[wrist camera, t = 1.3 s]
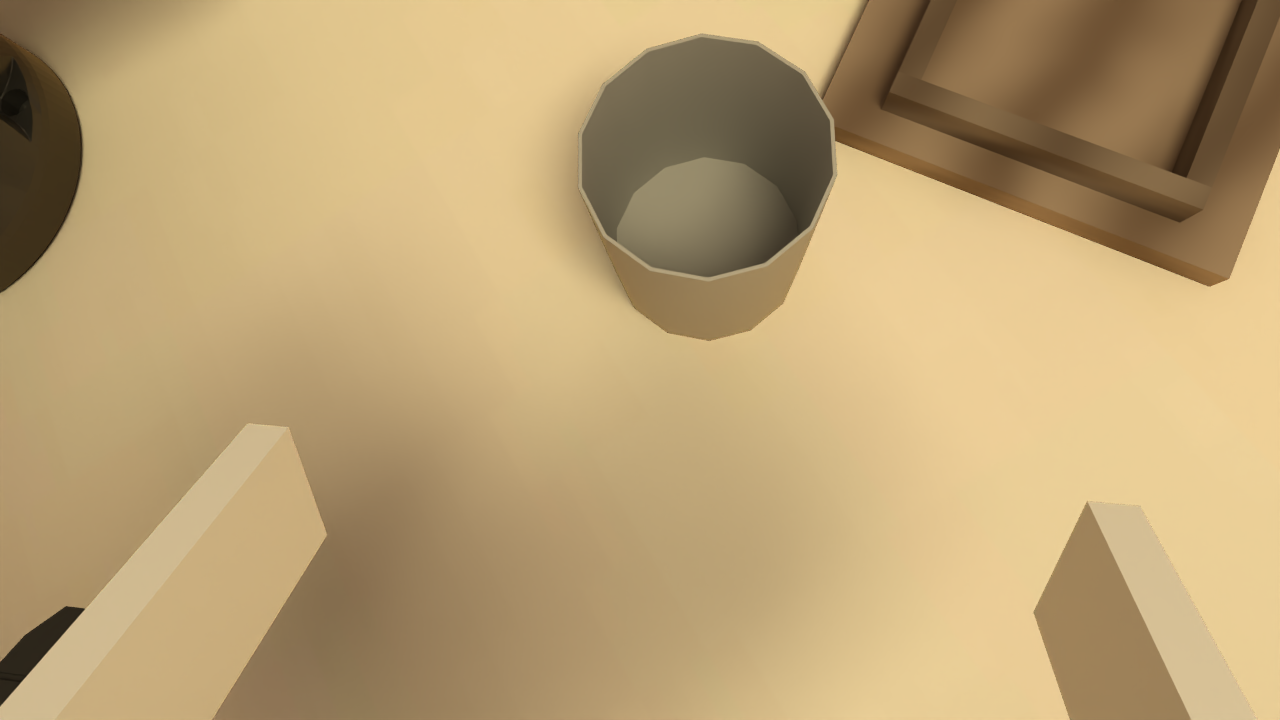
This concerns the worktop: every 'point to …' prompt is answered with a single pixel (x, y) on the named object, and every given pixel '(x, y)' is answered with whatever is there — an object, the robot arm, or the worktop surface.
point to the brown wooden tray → (1079, 113)
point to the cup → (707, 180)
